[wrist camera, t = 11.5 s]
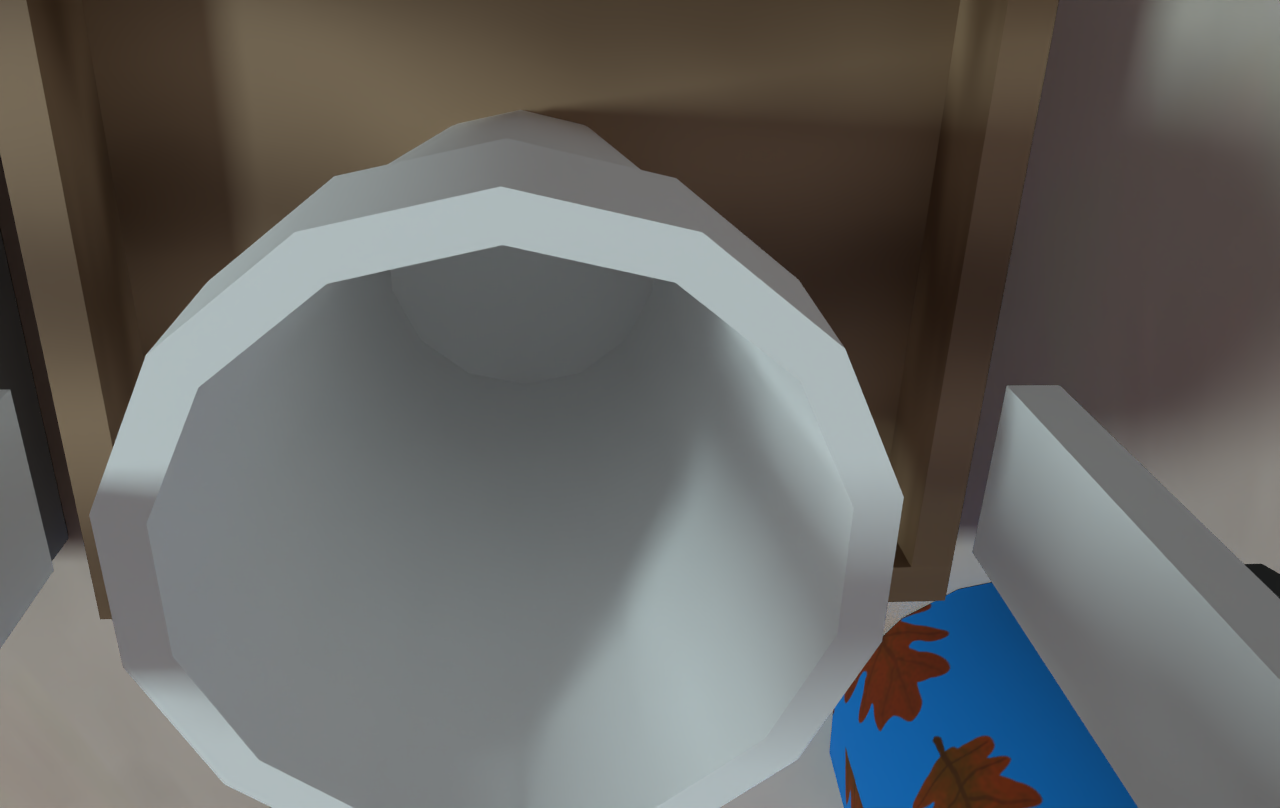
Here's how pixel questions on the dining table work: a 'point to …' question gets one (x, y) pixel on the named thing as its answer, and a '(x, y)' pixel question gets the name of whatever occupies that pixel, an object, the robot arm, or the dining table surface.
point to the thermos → (965, 719)
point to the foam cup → (498, 494)
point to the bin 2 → (560, 88)
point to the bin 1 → (28, 411)
